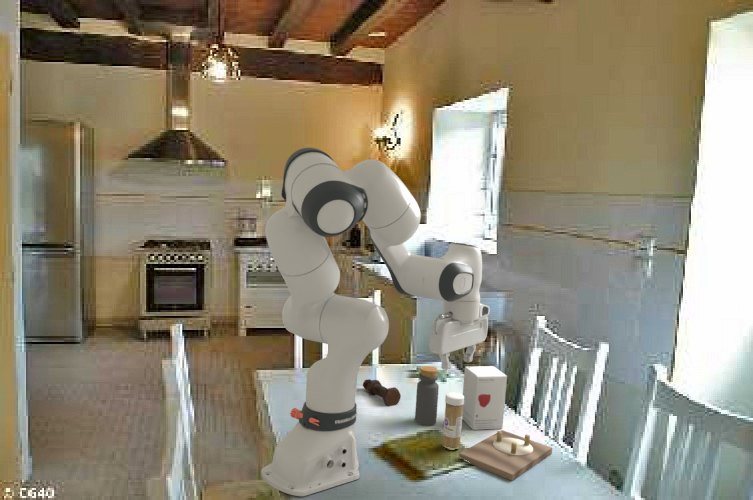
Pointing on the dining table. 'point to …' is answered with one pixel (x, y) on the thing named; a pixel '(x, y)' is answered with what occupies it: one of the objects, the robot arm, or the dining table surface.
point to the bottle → (427, 396)
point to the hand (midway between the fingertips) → (457, 365)
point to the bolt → (382, 392)
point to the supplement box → (484, 397)
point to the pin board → (506, 454)
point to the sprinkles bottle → (453, 419)
